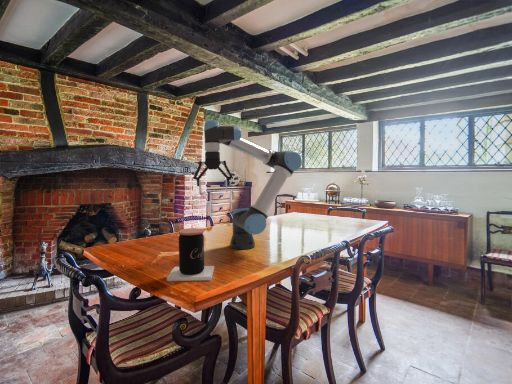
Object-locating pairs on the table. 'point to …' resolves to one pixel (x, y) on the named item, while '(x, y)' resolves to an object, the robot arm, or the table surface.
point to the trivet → (204, 275)
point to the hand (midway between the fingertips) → (213, 192)
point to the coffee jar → (191, 251)
